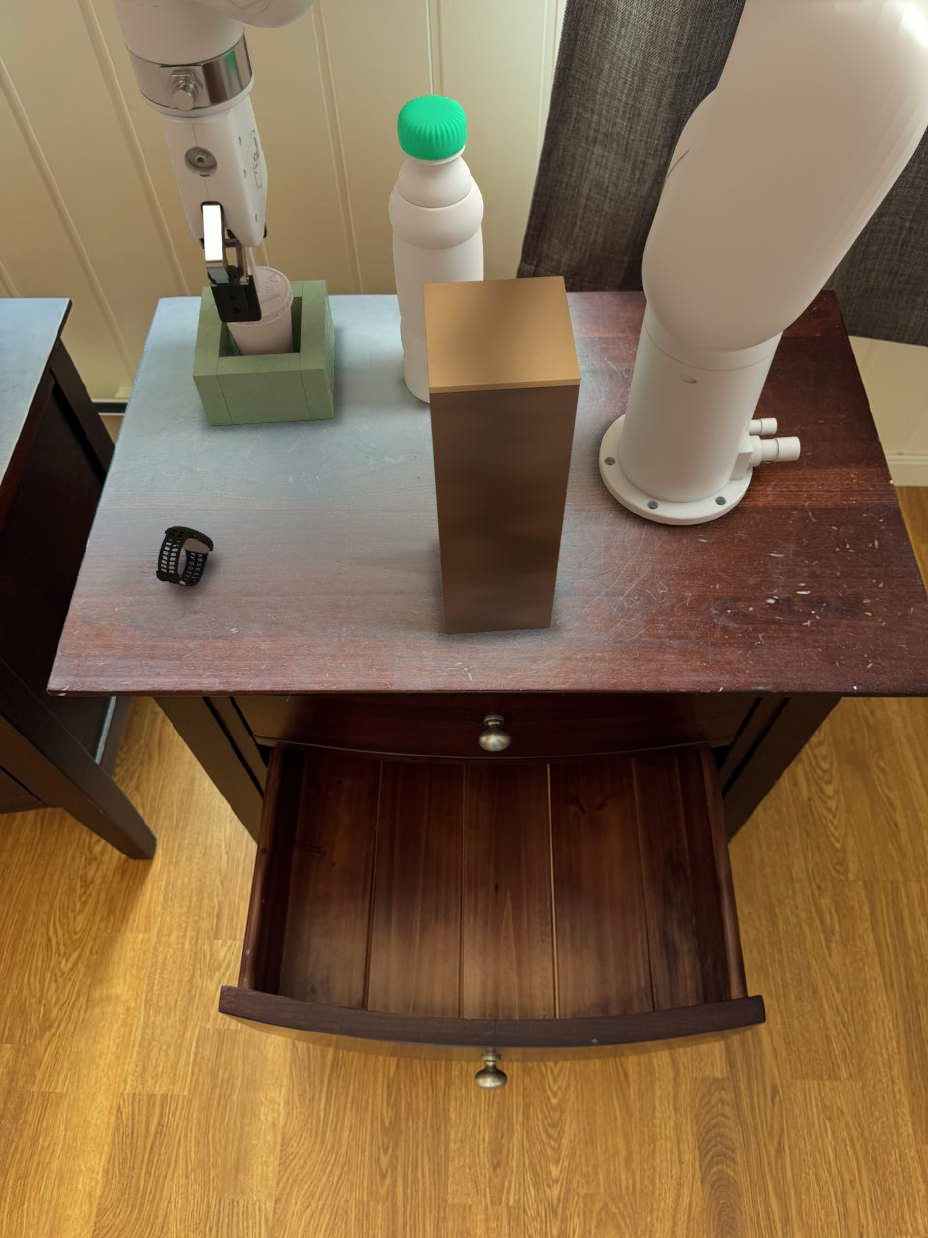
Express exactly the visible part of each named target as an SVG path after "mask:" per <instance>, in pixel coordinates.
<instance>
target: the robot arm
mask: <svg viewBox="0 0 928 1238" xmlns="http://www.w3.org/2000/svg"><path fill="white" fill-rule="evenodd" d="M315 1H316V0H112V4H113V7H114V11H115V14H116V17H117V20H118V24H119V28H120V30H121V33H122V37H123V40H124V43H125V47H126V50H127V54H128V57H129V60H130V63H131V66H132V70H133V73H134V77H135V81H136V83H137V86H138V91H139V94H140V97H141V98H142V100H143V102H144V103H145V104H146V105H147V106H148V107H150V108H151V109H153V110H155V111H156V112H159V115H160V118H161V123H162V127H163V133H164V137H165V140H166V142H165V144H166V147H167V149H168V154H169V158H170V162H171V166H172V170H173V175H174V178H175V182H176V186H177V189H178V192H179V197H180V200H181V204H182V208H183V211H184V215H185V219H186V221H187V226H188V229H189V231H190V234H191V237H192V240H193V241H194V244H196V246H198V248H200V249H202V250H204V263H205V267H206V271H207V272H206V273H207V278H208V279H207V280H208V284H209V286H210V287H211V290H212V294H213V297H214V300H215V304H216V307H217V311H218V314H219V318H220V320H221V321H222V322H224V323H233V322H254V321H260V320H261V318H262V312H261V308H260V303H259V299H258V295H257V291H256V287H255V282H254V278H253V275H248V268H247V267H248V262H247V258H246V250H245V247H251V248H252V247H253V248H258V247H259V246H260V245H261V243H262V241H263V240H264V239H265V238H267V236H268V229H267V224H266V216H267V215H266V213H267V200H268V197H267V196H268V170H267V163H266V159H265V154H264V150H263V146H262V142H261V138H260V133H259V129H258V126H257V122H256V118H255V117H256V116H255V112H254V109H253V105H252V101H251V97H250V93H251V91H252V90H253V88H254V85H255V74H254V69H253V65H252V59H251V53H250V48H249V44H248V39H247V34H246V27H245V24H246V25H249V26H253V27H256V28H262V29H279V28H283V27H286V26H288V25H291V24H292V23H294V22H296V21H297V20H299V19H300V18H302V17H303V16H304V15H305V14H306V13H307V12H308V11H309V9H310V8H311V7H312V5H313V4H314V3H315ZM719 77H720V78H719V79H718V82H717V85H716V87H715V89H714V90H712V91H711V92H710V93H709V94H708V95H707V96H706V97H705V98H703V100H702V101H701V102H700V103H699V104H698V106H697V107H696V108H695V109H694V111H693V113H691V115H690V117H689V118H688V120H687V121H686V124H685V125H684V127H683V129H682V131H681V133H680V136H679V138H678V141H677V143H676V145H675V149H674V152H673V155H672V157H671V160H670V163H669V166H668V170H667V173H666V176H665V179H664V182H663V185H662V188H661V193H660V198H659V201H658V205H657V207H656V211H655V214H654V217H653V220H652V224H651V227H650V229H649V232H648V235H647V237H646V240H645V241H646V242H645V244H644V250H643V253H642V261H641V281H642V288H643V293H644V297H645V299H646V304H645V310H644V313H643V317H642V318H643V319H642V323H641V329H640V335H639V339H638V346H637V351H636V355H635V361H634V367H633V372H632V377H631V382H630V387H629V392H628V393H629V394H628V399H627V405H626V410H625V412H624V413H623V414H621V415H620V416H618V418H617V419H615V420H614V421H613V422H612V424H611V425H609V427H608V428H607V430H606V432H605V434H604V435H603V437H602V440H601V443H600V447H599V454H598V467H599V473H600V476H601V479H602V482H603V484H604V485H605V487H606V488H607V490H608V492H609V493H610V495H611V496H613V498H614V499H615V500H616V501H617V502H618V503H619V504H621V505H622V506H623V507H624V508H626V509H628V510H629V512H632V513H634V514H636V515H638V516H639V517H642V518H643V519H647V520H650V521H653V522H656V523H659V524H666V525H672V526H690V525H691V526H692V525H698V524H704V523H707V522H710V521H713V520H716V519H719V518H720V517H722V516H724V515H725V514H727V513H729V512H730V511H731V510H733V509H734V508H735V507H736V506H737V505H738V504H739V503H740V501H741V500H742V499H743V498H744V496H745V495H746V493H747V490H748V488H749V485H750V483H751V480H752V476H753V467H759V466H760V464H761V462H774V463H777V462H778V463H779V462H793V461H794V462H796V461H797V460H799V458H800V454H801V441H800V439H799V437H798V436H786V437H773V438H772V439H769V438H768V439H761V438H760V436H770V435H776V434H777V430H778V422H777V418H776V417H766V418H758V419H753V416H754V413H755V411H756V407H757V405H758V403H759V400H760V396H761V394H762V391H763V389H764V385H765V382H766V380H767V377H768V374H769V371H770V368H771V365H772V363H773V360H774V357H775V354H776V351H777V348H778V345H779V343H780V341H781V338H782V336H783V333H784V331H785V330H786V329H787V328H788V327H790V326H791V325H792V324H793V323H794V322H796V320H797V319H798V318H799V317H800V316H801V315H802V314H803V313H804V312H805V311H806V309H807V308H808V307H809V306H810V304H812V302H813V301H814V300H815V299H816V297H817V296H818V294H820V291H821V290H822V289H823V287H824V286H825V285H826V283H827V282H828V280H829V279H830V277H831V276H832V275H833V273H834V271H835V270H836V268H837V267H838V266H839V264H840V263H841V261H842V260H843V259H844V257H845V256H846V254H847V252H849V250H850V249H851V247H852V246H853V244H854V243H855V241H856V240H857V238H858V237H859V235H860V234H861V232H862V231H863V230H864V228H865V227H866V225H867V224H868V222H869V221H870V219H871V217H872V216H874V213H876V211H877V209H878V208H879V206H880V205H881V204H882V202H883V200H884V199H885V198H886V196H887V195H888V193H889V192H890V190H891V189H892V188H893V186H894V184H895V183H896V181H897V180H898V178H899V177H900V175H901V174H902V172H903V171H904V169H905V167H906V166H907V164H908V163H909V161H910V160H911V159H912V156H913V155H914V153H915V151H916V149H917V147H918V146H919V144H920V142H921V139H922V138H923V135H924V133H925V131H926V129H927V127H928V0H745V3H744V6H743V10H742V13H741V16H740V18H739V23H738V25H737V28H736V32H735V34H734V38H733V41H732V45H731V47H730V50H729V53H728V56H727V59H726V62H725V65H724V67H723V70H722V72H721V75H720V76H719ZM226 234H227V235H226ZM226 236H227V238H226ZM226 249H235V256H236V257H235V258H236V265H237V266H236V265H234V264H229V259H228V256H227V251H226Z"/></svg>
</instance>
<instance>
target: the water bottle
mask: <svg viewBox="0 0 928 1238" xmlns="http://www.w3.org/2000/svg"><path fill="white" fill-rule="evenodd" d="M396 123H397V124H396V125H397V137H398V142H399V145H400V150H401V153H402V154H403V156H404V157H405V158H406V159H405V161H404V162H403V163H402V165H401V167H400V169H399V172H398V175H397V179H396V181H395V183H394V185H393V187H392V190H391V192H390V195H389V199H388V207H387V209H388V217H389V222H390V224H391V227H392V256H393V257H392V258H393V259H392V260H393V271H394V280H395V289H396V297H397V303H398V308H399V314H400V324H399V325H400V326H399V328H400V329H399V330H400V331H399V332H400V342H401V346H402V350H403V356H402V357H403V359H402V363H403V377H404V381H405V384H406V387H407V389H408V390H409V392H410V393H411V394H412V395H413V396H415V397H416V398H417V399H419V400H420V401H422V402H425V403H427V404H430V399H429V384H428V367H427V350H426V334H425V317H424V300H423V284H429V283H447V282H465V281H482V280H484V246H483V244H484V242H483V231H482V222H483V218H484V198H483V195H482V192H481V191H480V188H479V186H478V184H477V182H476V181H475V179H474V176H472V173H471V170H470V168H469V166H468V164H467V163H466V161H465V160H464V158H463V157H462V155H463V153H464V151H465V149H466V143H467V139H468V123H467V116H466V113H465V110H464V109H463V107H462V105H460V103H459V102H457V101H456V100H455V99H452V98H450V97H447V96H443V95H437V94H434V95H432V94H429V95H423V96H422V95H420V96H419V97H415V98H412V99H411V100H409V101H406V103H405V104H404V105H403V106H402V107H401V109H400V110H399V112H398V116H397V122H396Z"/></svg>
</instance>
